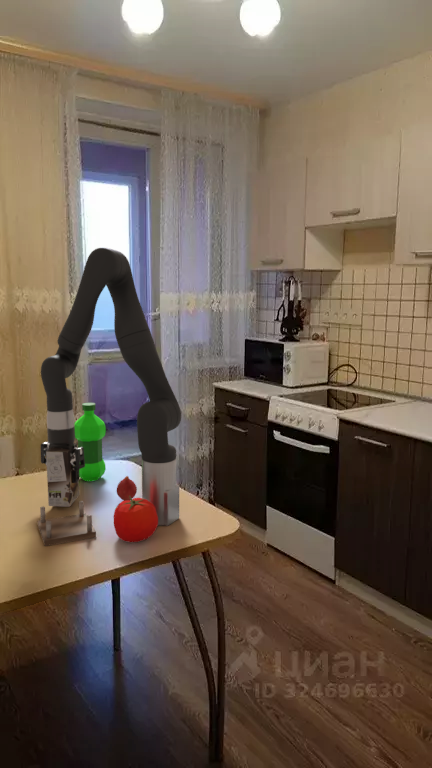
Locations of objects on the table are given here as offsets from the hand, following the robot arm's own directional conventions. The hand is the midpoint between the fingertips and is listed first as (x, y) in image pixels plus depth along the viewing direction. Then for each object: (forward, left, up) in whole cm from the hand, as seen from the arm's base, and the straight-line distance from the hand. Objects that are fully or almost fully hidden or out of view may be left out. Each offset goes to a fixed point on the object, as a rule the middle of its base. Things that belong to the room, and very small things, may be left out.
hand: (63, 480), depth 165 cm
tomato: (-31, +9, -8) cm, 33 cm away
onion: (-15, -10, -8) cm, 19 cm away
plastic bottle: (+7, -21, -8) cm, 24 cm away
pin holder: (-13, +14, -7) cm, 20 cm away
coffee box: (0, 0, -6) cm, 6 cm away
